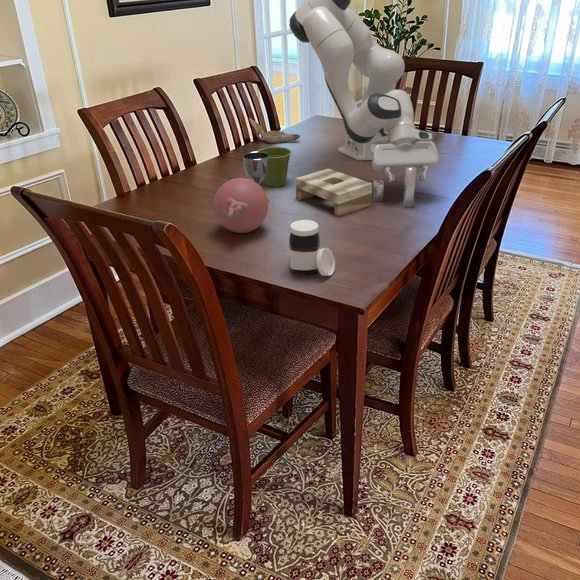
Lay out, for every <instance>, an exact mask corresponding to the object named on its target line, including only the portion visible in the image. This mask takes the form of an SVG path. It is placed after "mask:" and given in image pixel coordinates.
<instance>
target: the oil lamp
mask: <svg viewBox="0 0 580 580" xmlns="http://www.w3.org/2000/svg"><path fill="white" fill-rule="evenodd" d="M248 119H249V122H250V124H251V125H252V127H253V128H254V129H255V134H256V137H257V138H258V140H260V141H265V142H267V144H278V143H284V142H290V141H291V142H296V141H297V140H299V139H300V137H301V135H300V134H296V133H286V132H285V131H281V130H269V131H266V132H265V131H264V130H263V126H261V125H260V124H259V123H258V122H257V121H255V120H254V119H252V117H249V118H248ZM260 136H261V137H260Z"/></svg>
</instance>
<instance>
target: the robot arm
mask: <svg viewBox="0 0 580 580" xmlns="http://www.w3.org/2000/svg"><path fill="white" fill-rule="evenodd" d="M351 1H352V0H304V1H303V2H302V3H301V5H299V7H298V8H297V10H296V11H294V12H293V13H292V15H291V16H290V18H289V29H290V31H291V32H292V34H293V36H294V37H295V38H296V39H297V40H299V41H300V42H302V43H306V44H307V43H310V46H311V47H312V49H313V51H314V53H315V54H316V55H317V57H318V59H319V62H320V64H321V67H322V70H323V74H324V81H325V84H326V86H327V89H328V91H329V93H330V96H331V97H332V99H333V101H334V104H335V106H336V107H337V110H338V112H339V114H340V116H341V119H342V121H343V124H344V129H345V131H346V135H345V138H344V143H343V145H341V146H340V147H338V148H337V151H338V152H339V153H341V154H344V155H345V156H347V157H350V158H351V159H354V160H356V161H371V164H372V169H373V170H374V171H383V172H384V174H385V175H386V177H388V183H394V182H395V181H396V177H395V176H396V175H395V174H392V173H391V170H393V171H394V170H406V167H408V166H413V167H416V169H421V171H422V172H423V173H420V174H419V176H418V178H419V181H420V182H424V181H426V178H427V177H426V176H427V175H426V173H427V172H428V169H434V168H435V167H436V166H438V164H439V161H440V158H439V151H438V148H437V146H436V144H435V142H434V141H433V134H432V133H431V132H428V131H427V132H426V131H424V130H423V131H422V130H420V129H417V128H416V125H415V122H414V120H415V114H414V113H415V112H414V107H413V103H412V100H411V98H410V95H409V94H408V93H407V92H406V91H405V90H402V89H396V86H397V84H398V81H399V80H400V79H401V78H402V76H403V75H404V72H405V70H406V69H405V64H406V63H405V61H404V58H403V57H402V56H401V55H400V54H399V53H397V52H396V51H394V50H392V49H388V48H386V47H383V46H381V45H380V44H379V43H378V42H377V41H376V39H374V36H373V35H372V33H371V32H372V31H371V30H370V28H369V27H368V25H367V24H366V23H364V21H363V20H362V19H361V18H360V17H359V16H358V14H356V12H355V11H353V9H351V7H350V6H349V5H351ZM352 64H353V65H354V67H355V69H357V71H358V72H359V73H360V74H361V75H362V76H364V77H366V78H368V83H367V88H366V90H365V93H363V96H362V99H361V105H360V106H358V104H357V102H356V100H355V97H354V96H353V93H352V92H351V90H350V87H349V74H350V70H351V66H352Z"/></svg>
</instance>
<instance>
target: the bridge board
mask: <svg viewBox="0 0 580 580" xmlns="http://www.w3.org/2000/svg"><path fill="white" fill-rule="evenodd" d="M315 195H316V196H317V197H319V198H322V199H324V200H327V201H330V202H332V203H334V205H333V208H334V209H333V210H334V211H333V215H334V216H335V217H338V218H339V217H343V216H344V215H345V216H346V215H347V214H351V213H352V212H356V211H359V210H361V209H364V208H367V207H369V206H372V203H373V202H372V200H373V183H371V182H369V181H366V180H363V179H360V178H358V177H355V176H351V175H348V174H345V173H342V172H340V171H336V170H334V169H331V168H326V169H323V170H319V171H315V172H312V173H309V174H305V175H303V176H302V175H301V176H298V177H295V199H296V200H297V199H299V200H298V201H300V200H301V201H303V200H302V199H304V200H306V199H305V198H307V199H310V198H312V196H313V197H316V196H315ZM309 197H310V198H309ZM350 212H351V213H350Z"/></svg>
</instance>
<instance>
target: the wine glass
mask: <svg viewBox="0 0 580 580" xmlns="http://www.w3.org/2000/svg"><path fill="white" fill-rule="evenodd" d="M242 160H243V161H242V163H243V167H244V171H245V173H246V175H247V176H248V177H249V179H250V180H252V181H254V182H256V183H257V184H258V185H260V184H261V182H262V180H264V176H265V175H266V174H267V171H268V166H269V155H268V153H265V152H257V151H250V152H246V153H245V154H243V156H242ZM260 186H261V185H260Z"/></svg>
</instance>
